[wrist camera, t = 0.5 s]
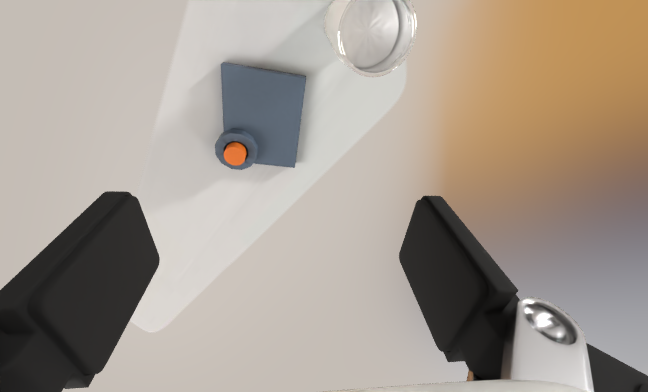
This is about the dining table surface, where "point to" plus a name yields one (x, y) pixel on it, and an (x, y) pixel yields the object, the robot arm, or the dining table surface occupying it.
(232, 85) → the scale
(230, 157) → the button
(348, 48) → the beer glass
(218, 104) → the dining table surface
